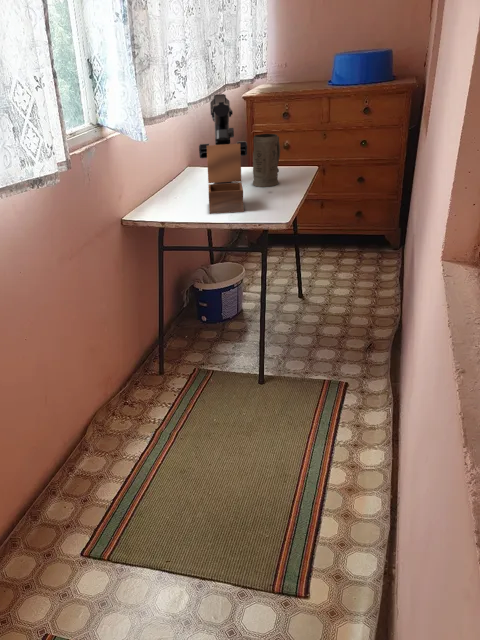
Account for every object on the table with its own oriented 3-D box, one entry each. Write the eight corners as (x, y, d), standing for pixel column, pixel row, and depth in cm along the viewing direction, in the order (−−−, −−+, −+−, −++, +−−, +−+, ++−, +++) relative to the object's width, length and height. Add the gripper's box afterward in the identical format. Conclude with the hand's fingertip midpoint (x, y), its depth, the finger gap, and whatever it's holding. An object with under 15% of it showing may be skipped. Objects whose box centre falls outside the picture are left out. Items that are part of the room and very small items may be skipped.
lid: (240, 143, 225) (240, 143, 225) (206, 145, 225) (206, 145, 226) (241, 181, 230) (241, 181, 231) (208, 183, 231) (208, 183, 231)
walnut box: (243, 211, 224) (243, 190, 220) (209, 213, 224) (208, 192, 220) (241, 202, 234) (241, 182, 230) (209, 204, 235) (208, 184, 231)
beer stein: (270, 188, 251) (272, 136, 242) (247, 186, 256) (248, 135, 247) (286, 182, 262) (288, 132, 253) (263, 180, 267) (265, 131, 258)
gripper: (197, 121, 232) (199, 157, 228) (246, 118, 231) (248, 154, 227) (199, 140, 242) (200, 174, 239) (245, 137, 241) (247, 171, 238)
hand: (224, 168), depth 235 cm, fingers closed
